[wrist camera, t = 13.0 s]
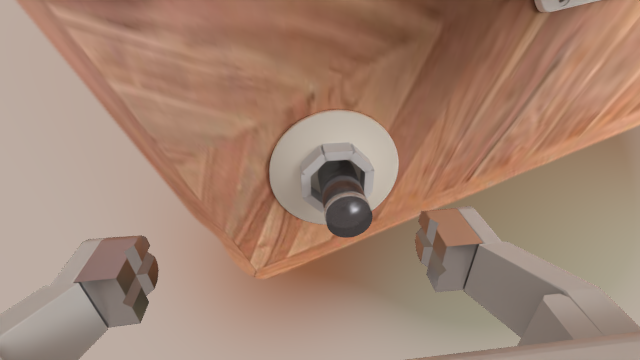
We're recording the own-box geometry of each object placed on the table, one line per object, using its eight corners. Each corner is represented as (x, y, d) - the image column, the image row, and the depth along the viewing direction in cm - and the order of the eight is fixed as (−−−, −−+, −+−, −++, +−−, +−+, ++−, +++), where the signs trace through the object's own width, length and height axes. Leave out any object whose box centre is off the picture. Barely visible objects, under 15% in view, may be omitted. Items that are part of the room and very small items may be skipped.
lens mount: (404, 106, 42) (414, 116, 39) (389, 215, 51) (395, 230, 48) (263, 112, 40) (262, 123, 37) (274, 224, 50) (274, 240, 47)
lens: (356, 155, 44) (375, 198, 35) (354, 188, 46) (371, 236, 38) (316, 158, 43) (325, 202, 35) (317, 191, 46) (325, 239, 38)
